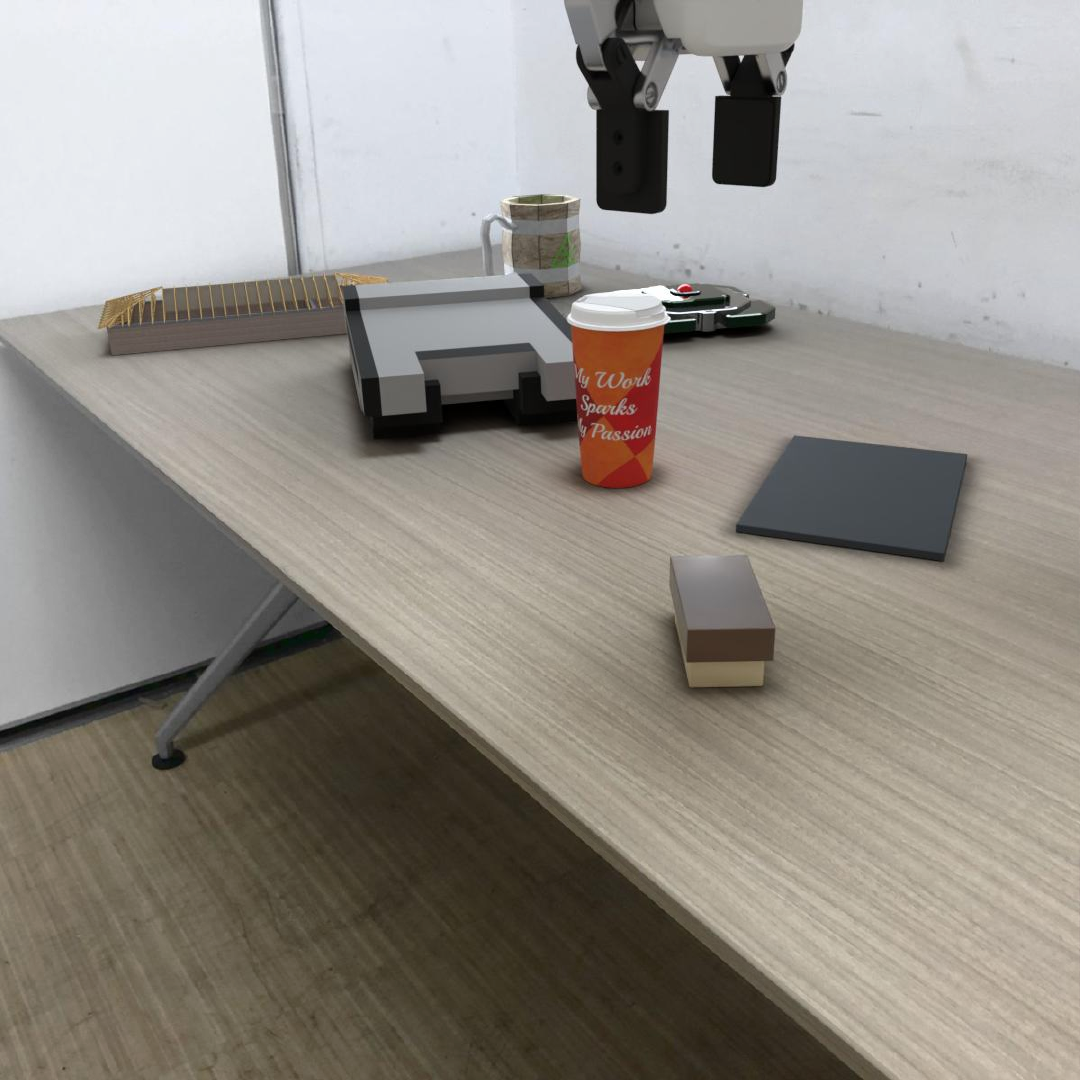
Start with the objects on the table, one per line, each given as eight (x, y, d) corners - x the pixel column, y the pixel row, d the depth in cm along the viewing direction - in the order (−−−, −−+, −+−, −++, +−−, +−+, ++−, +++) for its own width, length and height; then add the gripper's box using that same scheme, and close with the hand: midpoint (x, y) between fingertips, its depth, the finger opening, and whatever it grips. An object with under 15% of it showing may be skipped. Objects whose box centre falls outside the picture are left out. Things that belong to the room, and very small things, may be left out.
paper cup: (555, 486, 87) (551, 309, 82) (587, 454, 94) (586, 287, 88) (651, 498, 85) (654, 315, 79) (677, 464, 91) (682, 293, 85)
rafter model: (388, 304, 148) (384, 257, 145) (407, 329, 135) (403, 278, 132) (110, 329, 139) (101, 279, 137) (103, 357, 127) (92, 304, 124)
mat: (793, 441, 95) (793, 435, 95) (966, 460, 90) (967, 453, 90) (735, 531, 79) (735, 524, 78) (943, 561, 74) (944, 553, 73)
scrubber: (668, 615, 68) (669, 555, 66) (744, 613, 68) (747, 554, 66) (685, 695, 60) (687, 630, 58) (771, 693, 60) (775, 628, 58)
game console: (368, 458, 94) (359, 364, 91) (348, 360, 123) (341, 286, 119) (605, 435, 98) (605, 344, 94) (533, 345, 126) (531, 273, 123)
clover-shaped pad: (785, 333, 128) (788, 293, 127) (637, 347, 125) (637, 306, 123) (724, 301, 144) (726, 265, 142) (591, 312, 141) (591, 276, 139)
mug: (544, 278, 160) (542, 192, 155) (598, 288, 153) (597, 198, 148) (459, 296, 151) (454, 205, 146) (512, 308, 144) (508, 212, 139)
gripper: (671, -328, 35) (658, 231, 42) (886, -240, 47) (848, 181, 54) (488, -285, 39) (505, 216, 46) (730, -214, 51) (714, 173, 59)
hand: (690, 196), depth 50 cm, fingers open, 9 cm apart
